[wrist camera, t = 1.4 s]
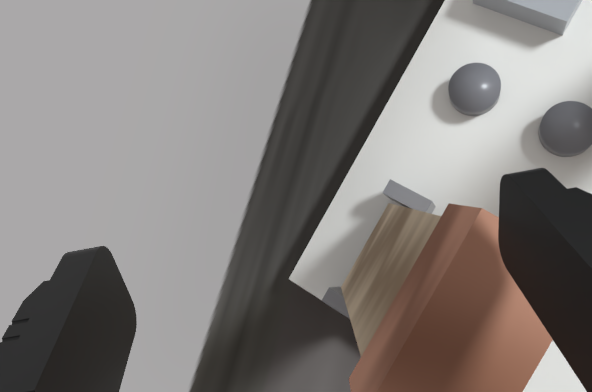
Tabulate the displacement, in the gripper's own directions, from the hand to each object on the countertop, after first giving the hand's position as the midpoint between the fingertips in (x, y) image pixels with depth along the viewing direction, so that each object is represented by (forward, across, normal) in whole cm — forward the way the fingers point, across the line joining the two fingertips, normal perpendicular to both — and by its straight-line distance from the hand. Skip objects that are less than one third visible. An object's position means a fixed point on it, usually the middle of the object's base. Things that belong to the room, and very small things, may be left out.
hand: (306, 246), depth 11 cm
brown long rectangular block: (+13, -3, +11) cm, 17 cm away
